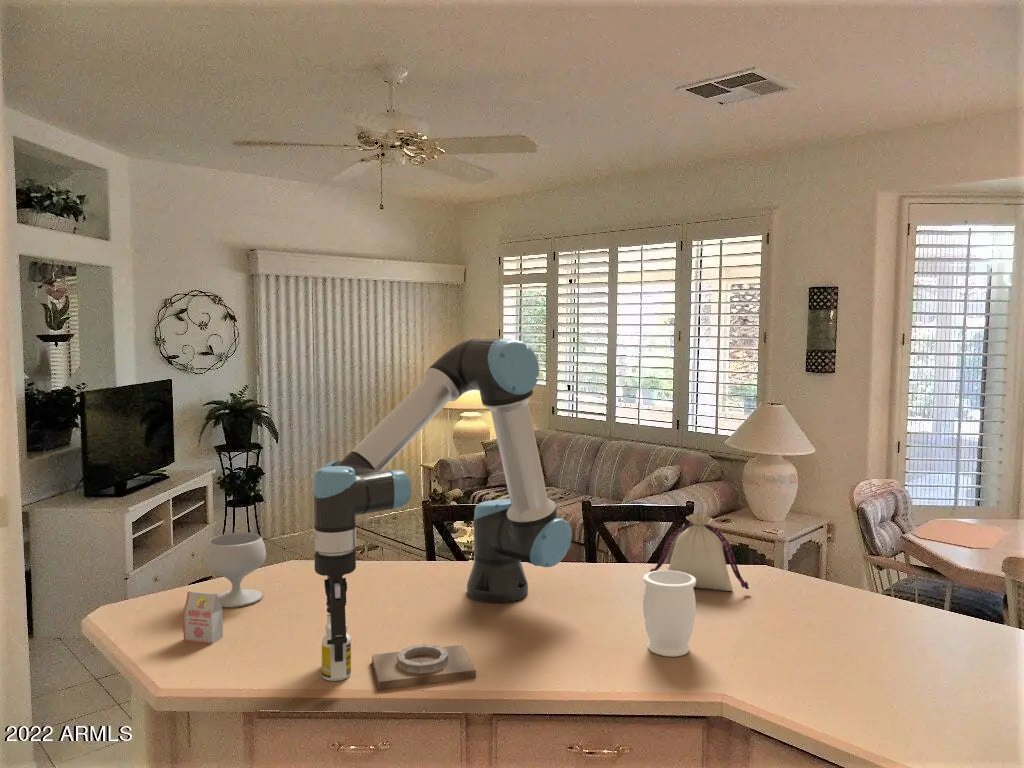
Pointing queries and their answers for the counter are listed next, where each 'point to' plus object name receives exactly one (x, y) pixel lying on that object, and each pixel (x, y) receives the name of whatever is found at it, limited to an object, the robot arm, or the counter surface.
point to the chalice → (235, 564)
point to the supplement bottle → (327, 655)
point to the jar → (669, 611)
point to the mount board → (422, 666)
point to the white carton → (202, 618)
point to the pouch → (701, 555)
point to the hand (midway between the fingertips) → (336, 661)
